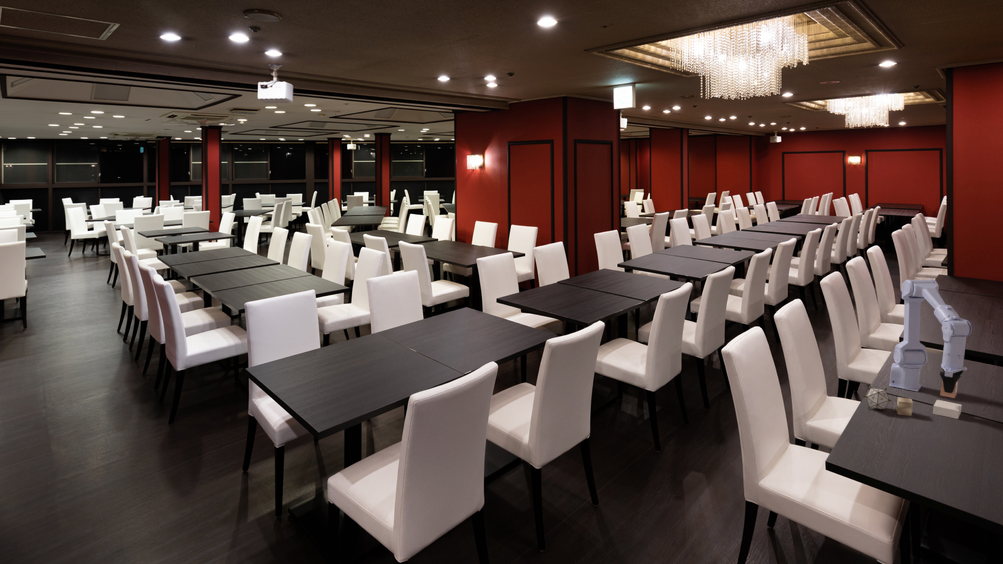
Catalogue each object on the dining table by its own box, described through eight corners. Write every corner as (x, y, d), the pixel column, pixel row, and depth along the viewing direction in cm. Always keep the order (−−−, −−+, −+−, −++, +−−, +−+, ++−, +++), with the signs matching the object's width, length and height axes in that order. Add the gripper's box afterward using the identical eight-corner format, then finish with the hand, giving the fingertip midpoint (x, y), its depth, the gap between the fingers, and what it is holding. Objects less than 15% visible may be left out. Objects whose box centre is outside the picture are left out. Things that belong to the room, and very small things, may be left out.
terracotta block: (940, 395, 197) (941, 381, 196) (942, 391, 199) (943, 378, 198) (954, 398, 194) (956, 384, 193) (956, 394, 197) (957, 381, 196)
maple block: (897, 414, 199) (898, 401, 198) (896, 410, 202) (897, 397, 201) (911, 416, 197) (912, 403, 196) (910, 411, 200) (911, 398, 199)
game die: (878, 420, 202) (880, 406, 196) (856, 405, 209) (858, 390, 202) (896, 406, 204) (899, 391, 197) (873, 391, 210) (876, 376, 203)
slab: (932, 413, 198) (933, 405, 197) (936, 407, 203) (937, 399, 202) (957, 419, 193) (958, 410, 192) (960, 412, 198) (961, 404, 197)
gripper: (965, 361, 186) (961, 399, 188) (971, 350, 196) (966, 387, 198) (939, 357, 191) (934, 394, 193) (945, 347, 201) (941, 382, 203)
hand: (949, 390), depth 196 cm, fingers closed on terracotta block, 4 cm apart
